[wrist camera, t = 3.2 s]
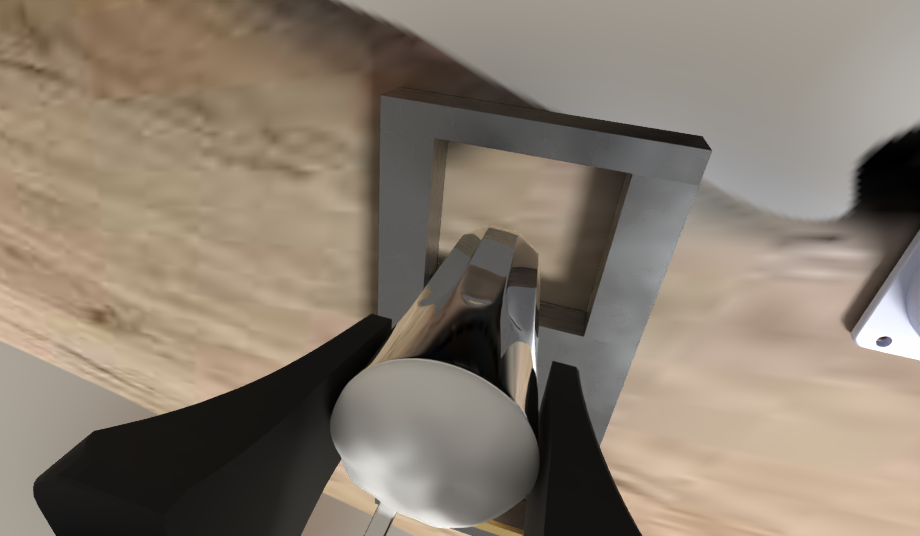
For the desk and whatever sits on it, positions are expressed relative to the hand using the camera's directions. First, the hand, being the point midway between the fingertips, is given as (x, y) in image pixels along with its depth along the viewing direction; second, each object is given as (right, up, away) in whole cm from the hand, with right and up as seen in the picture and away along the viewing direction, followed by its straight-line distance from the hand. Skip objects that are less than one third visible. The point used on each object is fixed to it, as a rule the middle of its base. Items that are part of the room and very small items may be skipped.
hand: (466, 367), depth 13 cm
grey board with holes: (+2, -2, +12) cm, 13 cm away
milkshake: (+1, +3, +4) cm, 5 cm away
